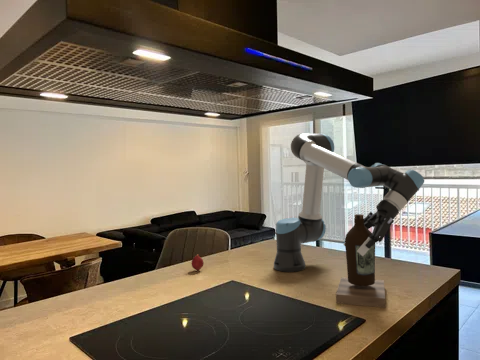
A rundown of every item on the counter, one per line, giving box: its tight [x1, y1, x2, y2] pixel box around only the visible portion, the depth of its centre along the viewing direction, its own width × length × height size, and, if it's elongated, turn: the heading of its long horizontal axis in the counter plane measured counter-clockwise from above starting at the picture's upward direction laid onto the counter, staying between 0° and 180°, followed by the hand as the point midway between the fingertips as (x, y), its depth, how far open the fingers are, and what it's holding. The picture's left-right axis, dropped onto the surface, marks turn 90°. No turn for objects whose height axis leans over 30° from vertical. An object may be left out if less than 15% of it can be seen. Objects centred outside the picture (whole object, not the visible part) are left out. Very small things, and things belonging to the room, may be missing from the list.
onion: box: [191, 254, 205, 272], centre depth 170 cm, size 6×6×8 cm
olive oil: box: [344, 213, 376, 286], centre depth 129 cm, size 11×11×25 cm
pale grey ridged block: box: [335, 276, 386, 308], centre depth 129 cm, size 20×16×3 cm
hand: (352, 250), depth 128 cm, fingers closed on olive oil, 10 cm apart
